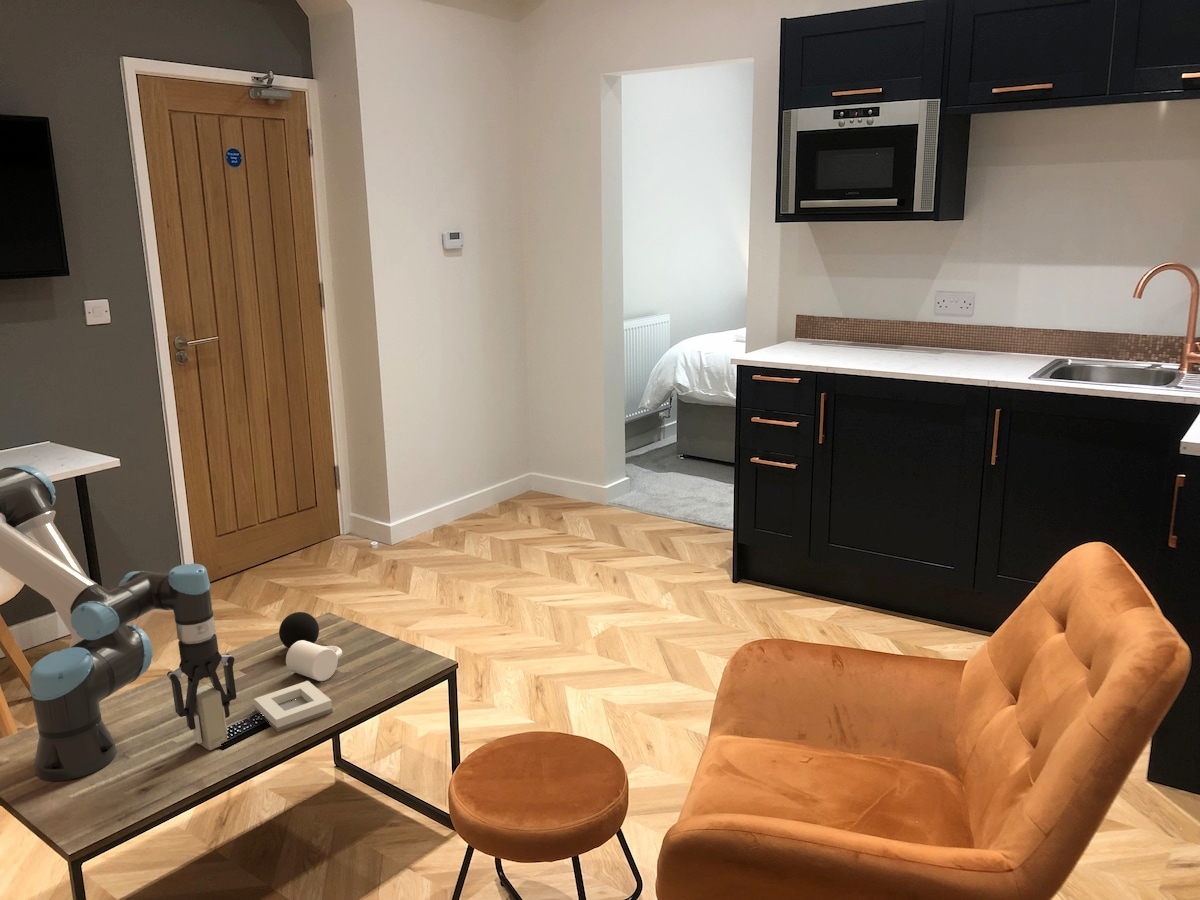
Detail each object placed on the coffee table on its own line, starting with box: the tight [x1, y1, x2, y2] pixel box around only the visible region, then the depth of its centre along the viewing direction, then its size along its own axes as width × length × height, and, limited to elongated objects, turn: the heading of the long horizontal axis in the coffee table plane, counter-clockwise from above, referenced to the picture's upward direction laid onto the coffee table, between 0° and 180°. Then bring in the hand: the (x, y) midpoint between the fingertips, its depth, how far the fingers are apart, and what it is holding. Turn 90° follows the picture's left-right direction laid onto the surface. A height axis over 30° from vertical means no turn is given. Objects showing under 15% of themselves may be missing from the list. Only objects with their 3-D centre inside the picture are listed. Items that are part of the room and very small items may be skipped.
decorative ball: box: [278, 611, 320, 649], centre depth 255 cm, size 10×10×10 cm
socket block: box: [253, 680, 334, 733], centre depth 223 cm, size 13×13×3 cm
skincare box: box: [195, 684, 228, 751], centre depth 210 cm, size 6×4×12 cm
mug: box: [285, 640, 343, 682], centre depth 242 cm, size 12×10×8 cm
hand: (211, 736), depth 211 cm, fingers closed on skincare box, 5 cm apart
